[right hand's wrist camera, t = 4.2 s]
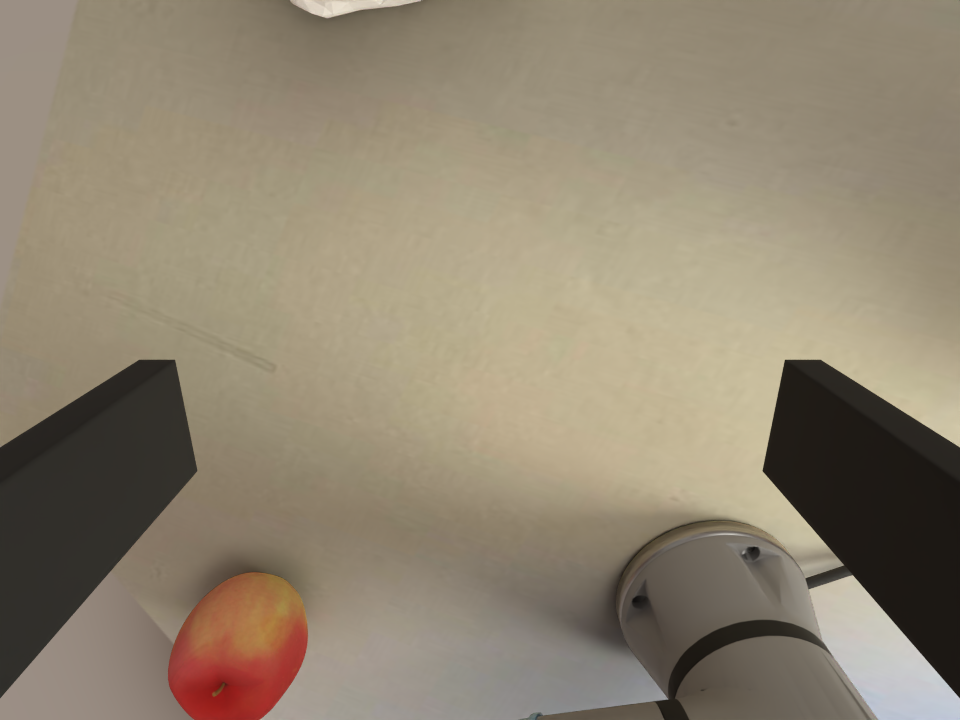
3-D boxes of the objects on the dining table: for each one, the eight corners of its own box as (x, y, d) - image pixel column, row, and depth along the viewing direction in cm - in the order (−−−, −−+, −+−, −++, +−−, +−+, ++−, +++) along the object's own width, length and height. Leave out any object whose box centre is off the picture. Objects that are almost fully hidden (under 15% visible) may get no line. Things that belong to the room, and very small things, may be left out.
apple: (342, 618, 49) (310, 728, 40) (246, 648, 50) (192, 762, 41) (290, 531, 46) (241, 628, 37) (188, 566, 47) (116, 668, 38)
